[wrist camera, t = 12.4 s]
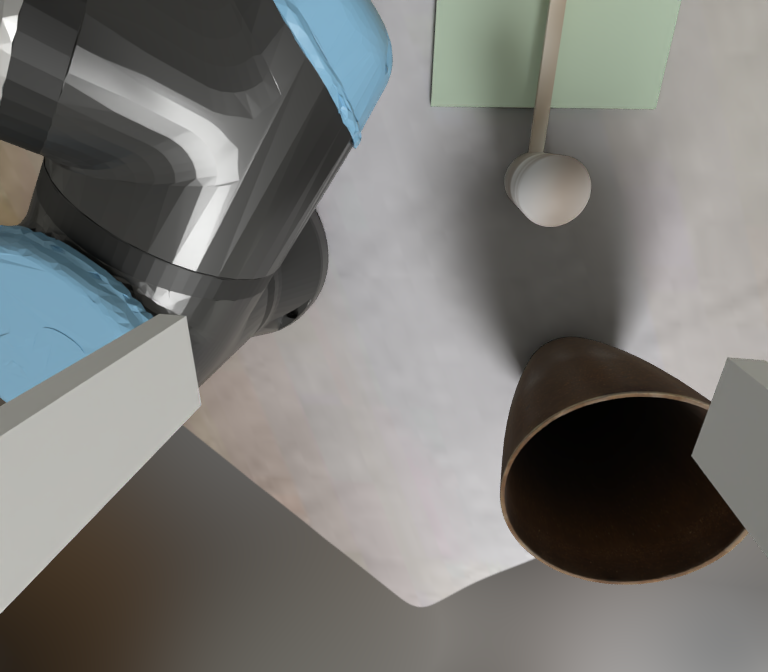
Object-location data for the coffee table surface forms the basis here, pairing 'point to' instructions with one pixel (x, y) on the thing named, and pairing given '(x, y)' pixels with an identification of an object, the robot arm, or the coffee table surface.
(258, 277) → the robot arm
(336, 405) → the coffee table surface
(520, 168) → the tethered block
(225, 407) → the coffee table surface
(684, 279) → the coffee table surface
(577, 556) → the plant pot
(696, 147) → the coffee table surface
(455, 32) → the mat
